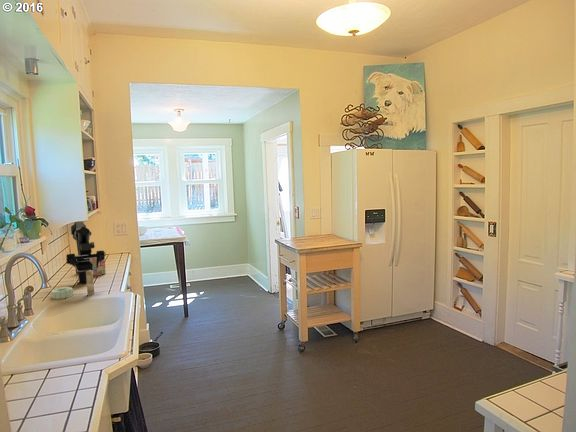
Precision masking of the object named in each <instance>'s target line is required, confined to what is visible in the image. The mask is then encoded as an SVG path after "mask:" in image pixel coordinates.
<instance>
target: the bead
mask: <svg viewBox="0 0 576 432" xmlns="http://www.w3.org/2000/svg"><path fill="white" fill-rule="evenodd" d="M73 289H74V288H73V287H71V286H70V287H69V286H65V287H60V288H55V289H52V290H51V298H52V299H55V300H58V299H59V300H60V299H61V300H62V299H67V298H69V297H72V296H73V295H74V290H73Z"/></svg>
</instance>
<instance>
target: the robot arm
mask: <svg viewBox="0 0 576 432" xmlns="http://www.w3.org/2000/svg"><path fill="white" fill-rule="evenodd" d="M70 235H72V239H74V241H76V242H75V243H76V250H77V254H75V253H67V254H66V257H65V258H66V260H65V261H66V264H67V265H70V266H71V265H72V266H73V267H74V270H75V274H76V275H77V274H78V282H76V284H87V280H86V271H91V270H92V271H93V264H92V263H91V262H90V259H89V258H96V267H97V268H98V265H99V263H100V261H102V260H104V258H105V257H106V252H105V251H104V250H97V251H96V253H92V252H93V251H92V249H95V248H96V247H95V246H96V245H95V241H93V242H91V241H90V237H91V235H92V232H91V231H90V229H89V228H87V226H86V224H85V223H84V221H75V222H74V223H73V224H72V225H71V226H70ZM105 259H106V258H105Z"/></svg>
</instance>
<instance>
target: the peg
mask: <svg viewBox="0 0 576 432" xmlns="http://www.w3.org/2000/svg"><path fill="white" fill-rule="evenodd" d="M86 280H87V283H86V289H87V290H86V291H87V292H86V293H87V296H93V295H95V284H94V275H93V271H92V270H91V271H86Z"/></svg>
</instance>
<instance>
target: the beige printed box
mask: <svg viewBox="0 0 576 432" xmlns="http://www.w3.org/2000/svg"><path fill="white" fill-rule="evenodd" d="M89 259H90V262H91V263H92V264H93V276H94V275H95V277H98V275H99V276H103V275H102V274H104V275H105V274H107V273H106V258H104V260H102V261H100V263H99V265H98V268H97V267H96V258H89Z"/></svg>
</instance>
